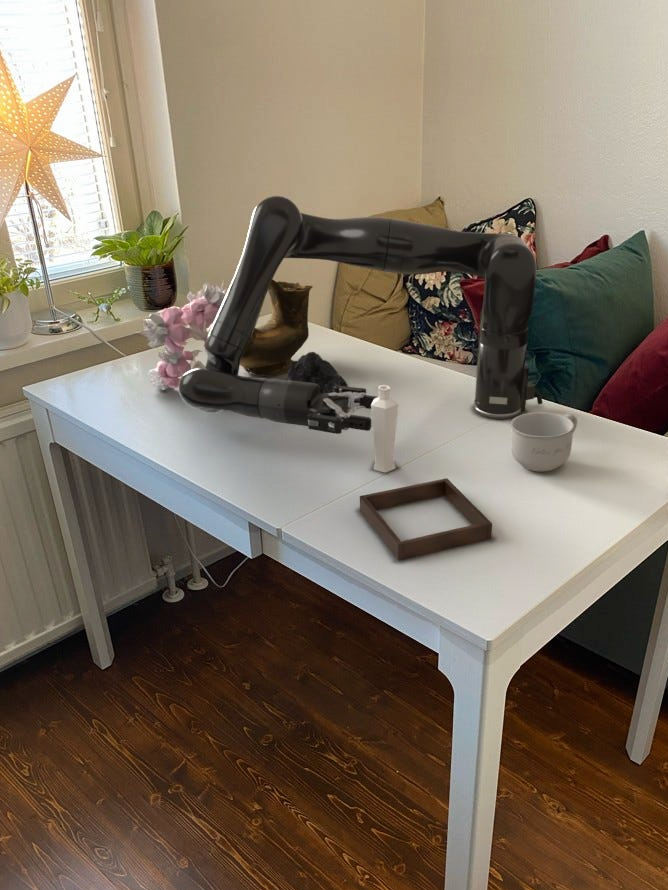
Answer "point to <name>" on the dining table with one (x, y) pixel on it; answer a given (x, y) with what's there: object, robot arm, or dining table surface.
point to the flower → (181, 333)
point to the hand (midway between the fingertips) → (378, 414)
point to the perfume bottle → (384, 429)
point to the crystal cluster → (315, 372)
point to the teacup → (542, 439)
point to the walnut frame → (427, 543)
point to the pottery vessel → (279, 330)
